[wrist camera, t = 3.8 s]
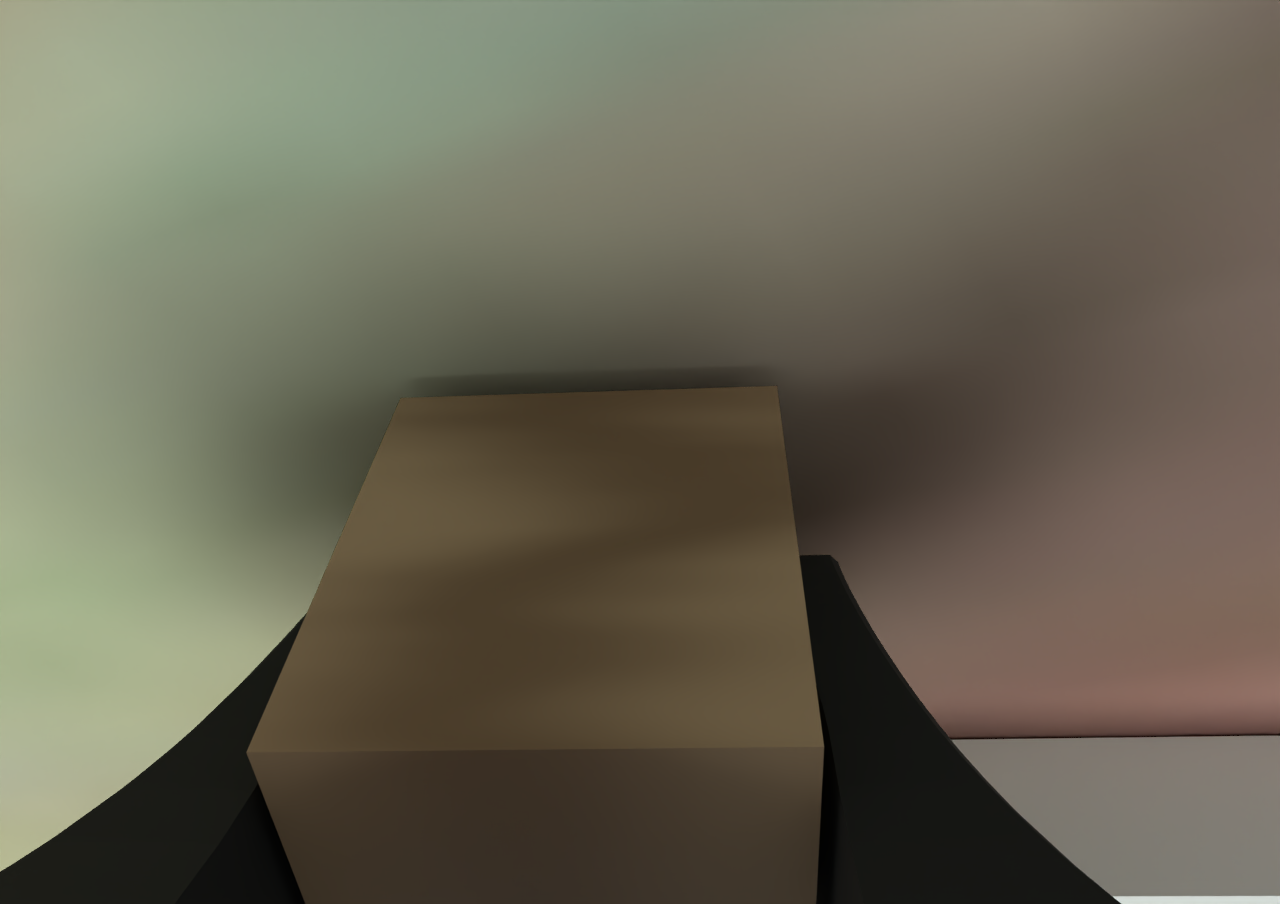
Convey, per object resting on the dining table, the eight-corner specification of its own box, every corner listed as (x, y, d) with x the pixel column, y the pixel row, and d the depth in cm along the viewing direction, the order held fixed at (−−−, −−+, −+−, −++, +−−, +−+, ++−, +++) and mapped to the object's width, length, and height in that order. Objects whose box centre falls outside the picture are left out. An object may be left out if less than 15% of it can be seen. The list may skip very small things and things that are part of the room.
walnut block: (777, 386, 14) (824, 746, 9) (773, 661, 17) (809, 1054, 12) (400, 398, 14) (246, 753, 9) (457, 667, 17) (362, 1050, 12)
